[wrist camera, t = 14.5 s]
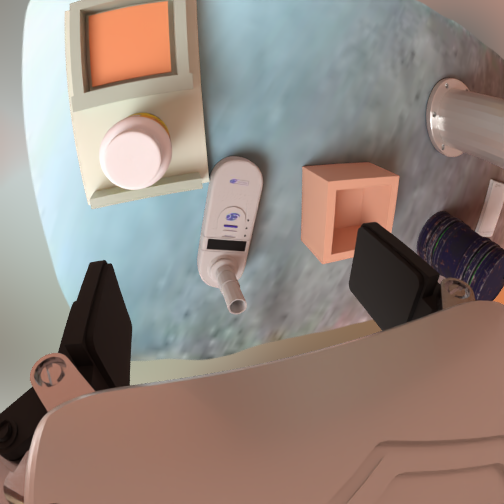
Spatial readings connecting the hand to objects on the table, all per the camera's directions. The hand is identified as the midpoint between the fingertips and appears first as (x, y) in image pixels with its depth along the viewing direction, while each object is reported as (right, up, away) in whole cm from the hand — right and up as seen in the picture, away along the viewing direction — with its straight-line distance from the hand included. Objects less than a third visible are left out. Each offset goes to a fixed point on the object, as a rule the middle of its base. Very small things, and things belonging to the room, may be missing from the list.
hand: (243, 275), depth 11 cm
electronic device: (-3, +5, +24) cm, 24 cm away
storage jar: (+32, +4, +35) cm, 48 cm away
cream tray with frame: (-11, +16, +14) cm, 24 cm away
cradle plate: (-11, +20, +10) cm, 25 cm away
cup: (+11, +7, +26) cm, 29 cm away
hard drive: (+50, +10, +38) cm, 64 cm away
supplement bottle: (-10, +12, +16) cm, 22 cm away
